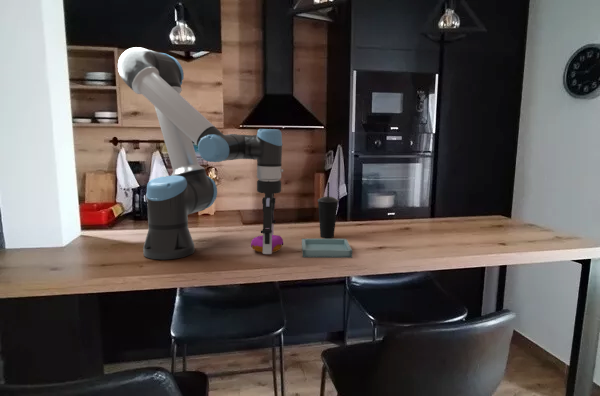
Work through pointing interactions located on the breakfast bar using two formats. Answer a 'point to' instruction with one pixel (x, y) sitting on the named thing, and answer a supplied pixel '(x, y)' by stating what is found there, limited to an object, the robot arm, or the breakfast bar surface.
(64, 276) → the breakfast bar surface
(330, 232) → the drinking cup
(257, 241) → the donut
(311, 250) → the tray
